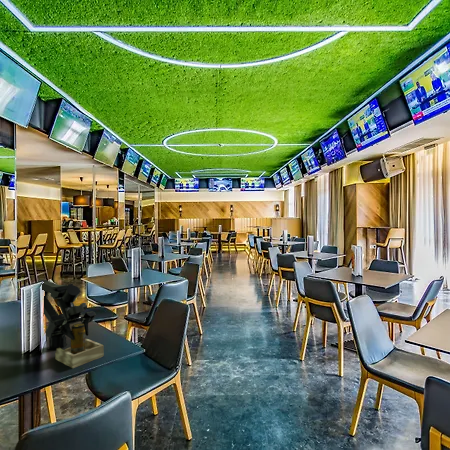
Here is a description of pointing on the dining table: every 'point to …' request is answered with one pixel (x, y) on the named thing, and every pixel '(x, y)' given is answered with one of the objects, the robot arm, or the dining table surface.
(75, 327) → the condiment
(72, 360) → the tan square tray
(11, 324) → the dining table surface
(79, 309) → the robot arm
